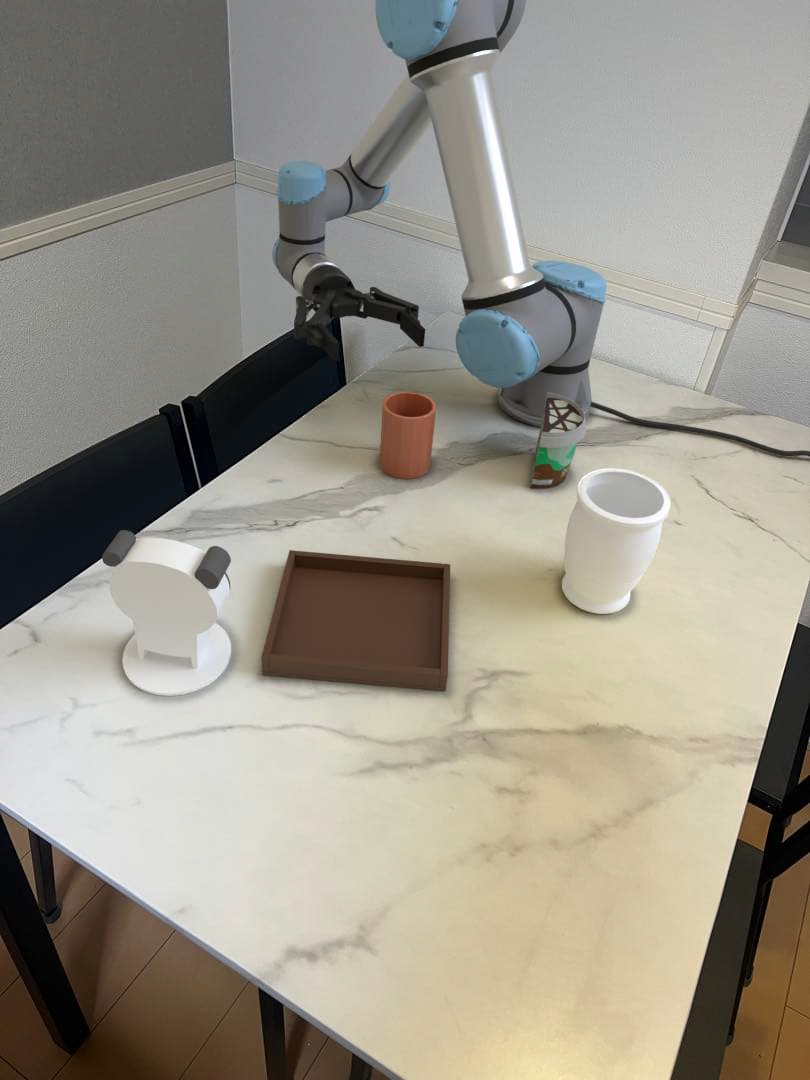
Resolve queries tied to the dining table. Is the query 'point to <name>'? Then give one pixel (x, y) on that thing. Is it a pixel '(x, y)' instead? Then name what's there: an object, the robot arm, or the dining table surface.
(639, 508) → the jar
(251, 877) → the dining table surface
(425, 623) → the tray
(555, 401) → the food container
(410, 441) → the cup
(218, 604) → the panda figurine
